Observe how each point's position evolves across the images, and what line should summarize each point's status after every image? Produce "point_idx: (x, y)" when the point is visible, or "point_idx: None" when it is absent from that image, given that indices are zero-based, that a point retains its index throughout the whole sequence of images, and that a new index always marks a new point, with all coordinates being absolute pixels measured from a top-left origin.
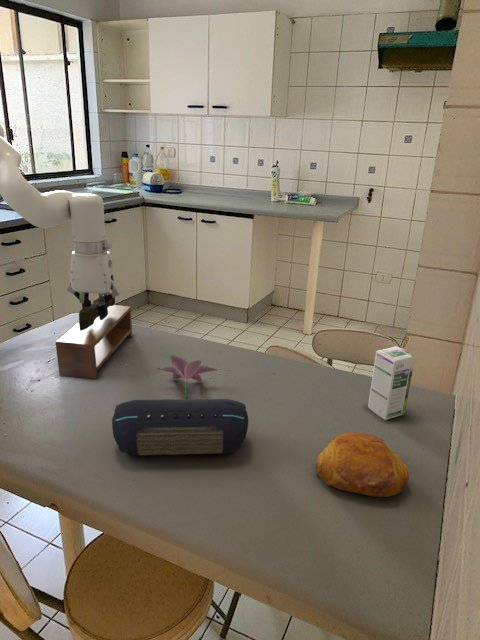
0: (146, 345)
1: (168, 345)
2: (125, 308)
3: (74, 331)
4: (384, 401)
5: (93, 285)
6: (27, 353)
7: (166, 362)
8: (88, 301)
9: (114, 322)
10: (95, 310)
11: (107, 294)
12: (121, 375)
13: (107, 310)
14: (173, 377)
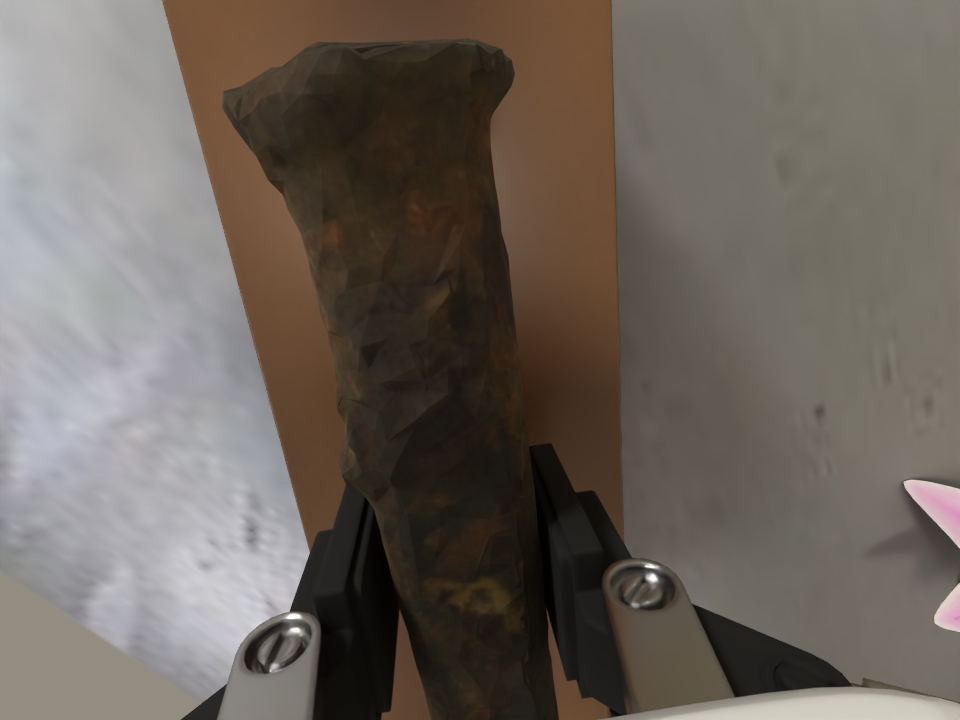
0: (682, 164)
1: (824, 114)
2: None
3: (397, 675)
4: None
5: None
6: (64, 498)
7: (846, 341)
8: (357, 645)
9: (619, 425)
10: (558, 716)
11: (723, 693)
12: (664, 524)
13: (604, 518)
14: (917, 499)
